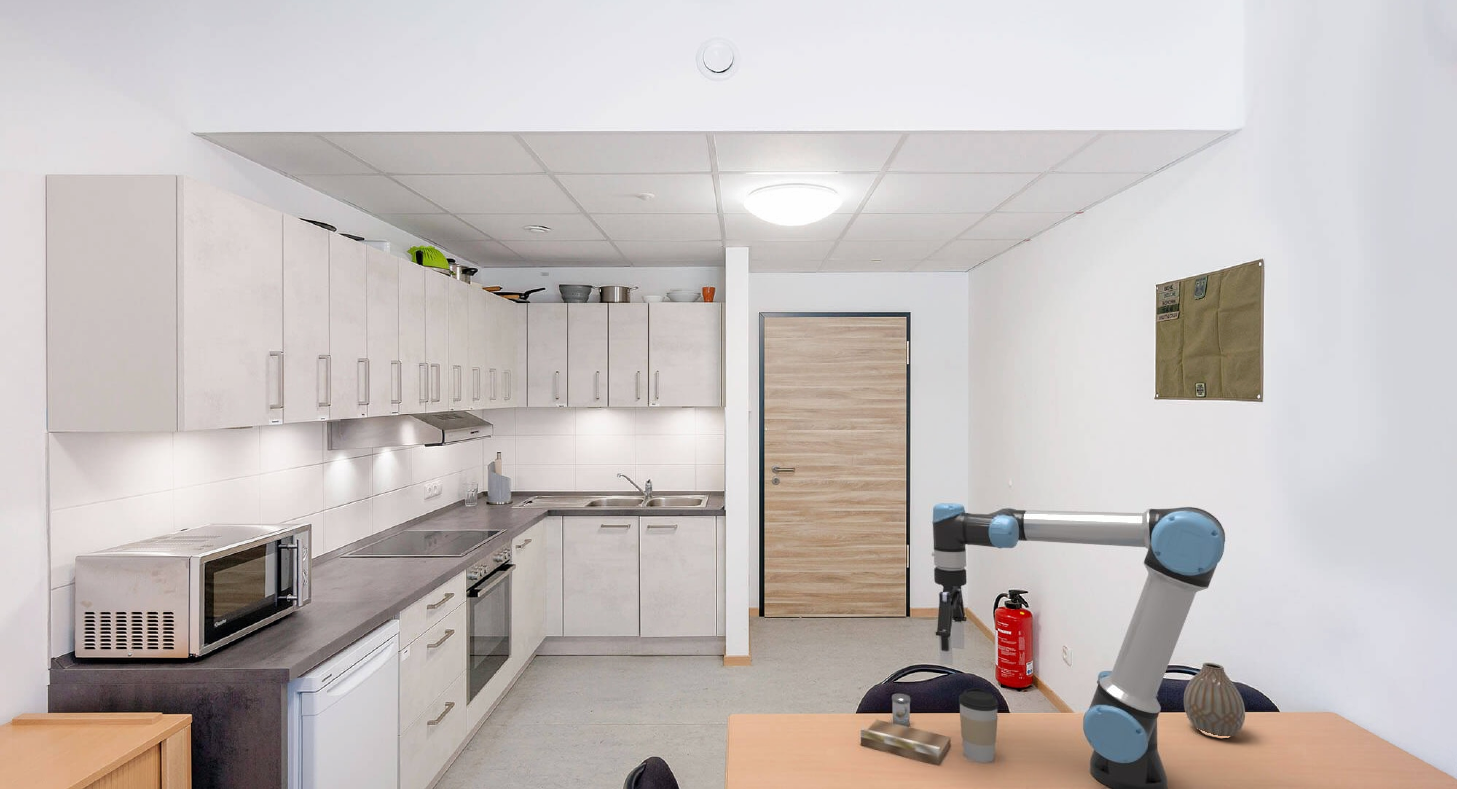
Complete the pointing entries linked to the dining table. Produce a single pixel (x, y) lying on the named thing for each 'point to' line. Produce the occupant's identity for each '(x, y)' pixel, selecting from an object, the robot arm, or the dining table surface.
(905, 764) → the dining table surface
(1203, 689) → the vase
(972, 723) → the coffee cup
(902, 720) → the tea tin
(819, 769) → the dining table surface
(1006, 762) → the dining table surface
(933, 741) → the small brown box
